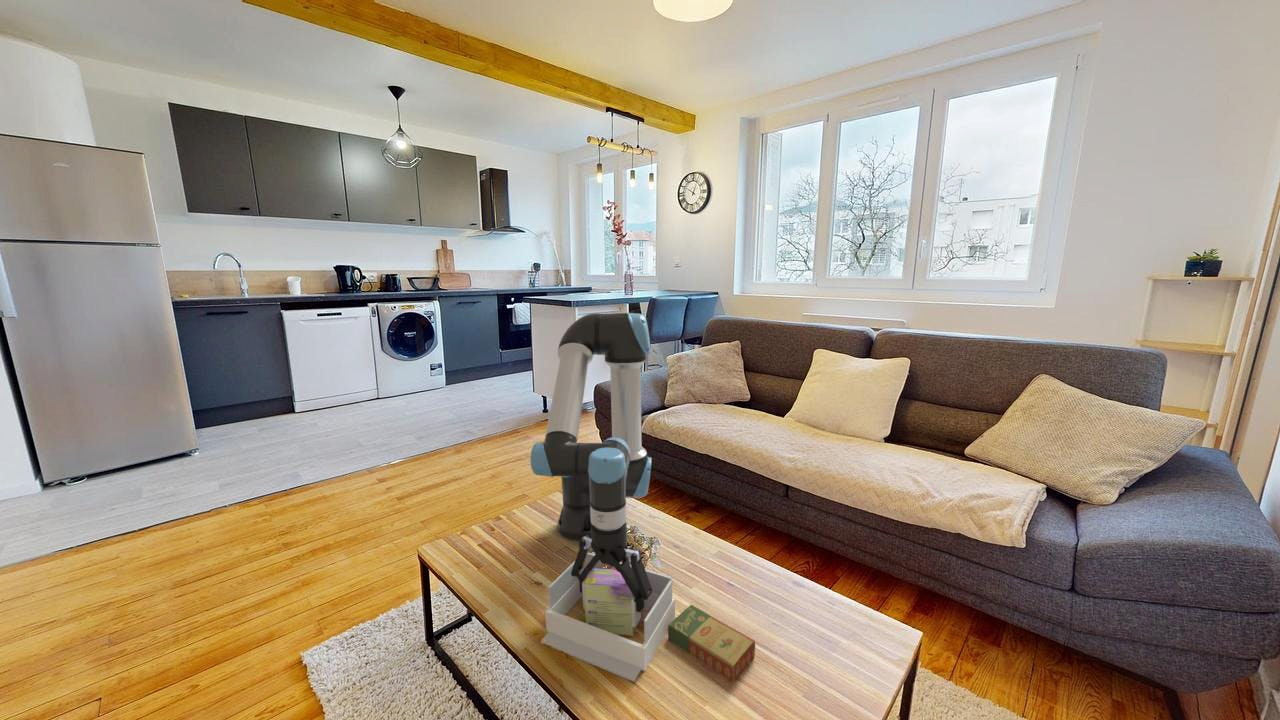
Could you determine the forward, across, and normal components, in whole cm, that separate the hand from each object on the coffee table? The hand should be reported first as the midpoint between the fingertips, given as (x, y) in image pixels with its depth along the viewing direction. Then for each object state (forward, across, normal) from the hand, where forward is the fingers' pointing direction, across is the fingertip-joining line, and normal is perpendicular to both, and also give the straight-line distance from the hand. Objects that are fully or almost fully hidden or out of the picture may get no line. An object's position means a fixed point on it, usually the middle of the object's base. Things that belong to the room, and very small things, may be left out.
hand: (611, 613), depth 101 cm
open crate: (+3, 0, -1) cm, 3 cm away
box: (+3, 0, 0) cm, 3 cm away
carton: (+3, +21, +3) cm, 22 cm away
